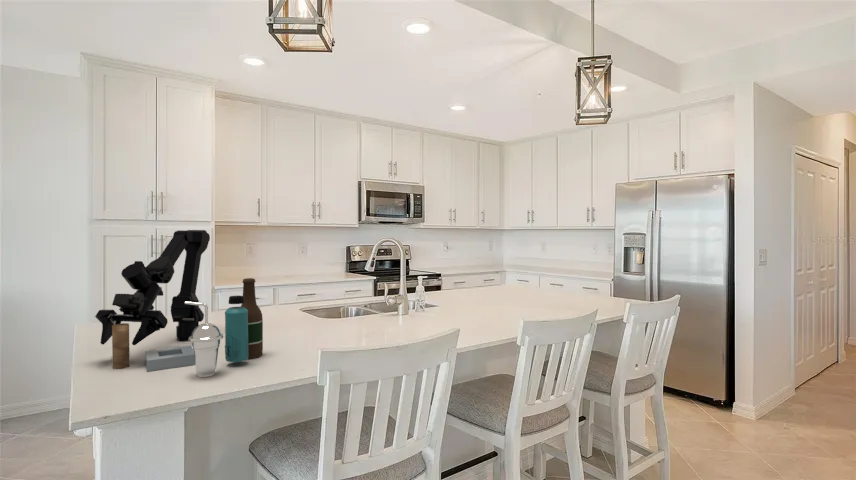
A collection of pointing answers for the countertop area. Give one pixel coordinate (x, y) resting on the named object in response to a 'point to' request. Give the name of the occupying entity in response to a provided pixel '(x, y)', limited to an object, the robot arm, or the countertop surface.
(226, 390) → the countertop surface
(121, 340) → the peg
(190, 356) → the socket
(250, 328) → the beer bottle
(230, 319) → the beverage bottle
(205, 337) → the cup with straw
